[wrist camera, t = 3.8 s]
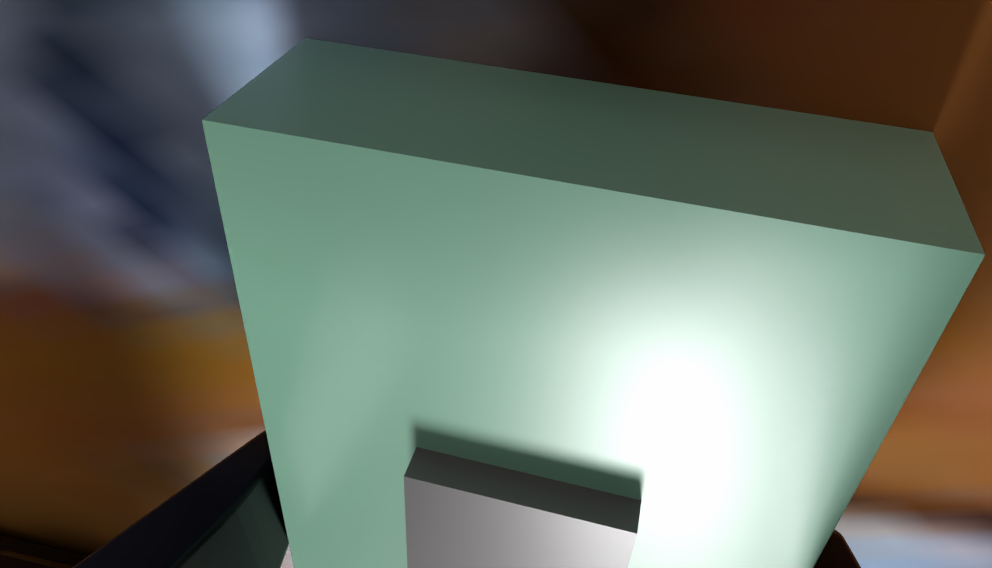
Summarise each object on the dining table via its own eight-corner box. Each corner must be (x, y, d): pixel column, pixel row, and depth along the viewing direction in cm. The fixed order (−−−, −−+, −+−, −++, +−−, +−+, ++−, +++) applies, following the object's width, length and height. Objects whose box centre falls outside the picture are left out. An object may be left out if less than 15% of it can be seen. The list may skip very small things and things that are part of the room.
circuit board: (697, 641, 13) (687, 823, 11) (372, 555, 14) (306, 706, 12) (922, 110, 7) (1000, 290, 5) (324, 22, 8) (173, 141, 6)
